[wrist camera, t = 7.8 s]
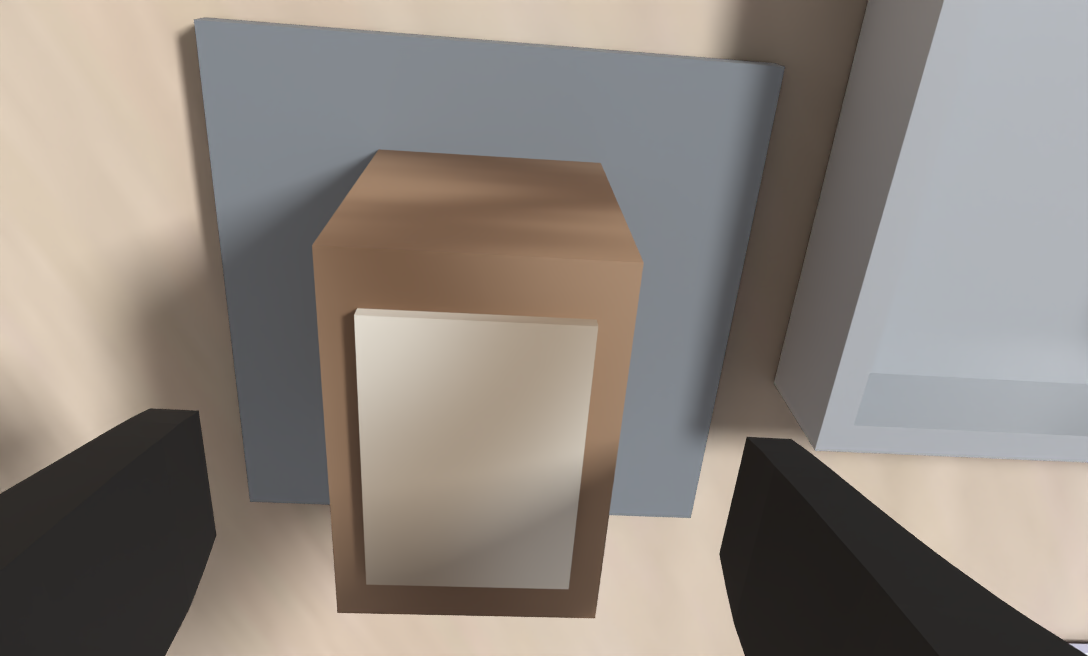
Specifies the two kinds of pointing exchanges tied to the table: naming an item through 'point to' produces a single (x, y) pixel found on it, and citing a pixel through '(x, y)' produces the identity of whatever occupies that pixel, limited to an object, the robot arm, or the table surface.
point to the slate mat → (486, 130)
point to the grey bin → (951, 240)
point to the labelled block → (473, 382)
